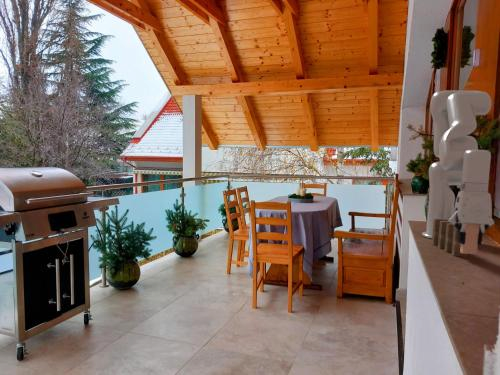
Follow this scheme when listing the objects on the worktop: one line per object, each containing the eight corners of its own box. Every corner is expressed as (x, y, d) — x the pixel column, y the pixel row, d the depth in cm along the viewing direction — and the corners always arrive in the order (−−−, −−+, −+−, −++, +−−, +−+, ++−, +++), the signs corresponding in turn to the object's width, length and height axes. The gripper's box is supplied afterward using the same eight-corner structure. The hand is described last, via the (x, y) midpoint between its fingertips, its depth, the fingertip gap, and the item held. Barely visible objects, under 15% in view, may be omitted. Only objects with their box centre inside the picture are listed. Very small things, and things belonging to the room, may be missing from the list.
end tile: (476, 254, 123) (479, 223, 122) (462, 253, 123) (465, 223, 123) (474, 252, 125) (476, 223, 124) (460, 252, 125) (462, 222, 124)
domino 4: (451, 254, 131) (453, 226, 130) (464, 255, 130) (467, 226, 129) (453, 256, 129) (456, 227, 128) (467, 256, 129) (470, 227, 128)
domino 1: (431, 244, 145) (433, 218, 144) (443, 244, 145) (445, 218, 144) (433, 245, 144) (435, 219, 143) (445, 245, 144) (448, 219, 143)
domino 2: (437, 247, 140) (440, 220, 140) (450, 247, 140) (452, 221, 139) (439, 248, 139) (442, 221, 138) (452, 249, 139) (454, 222, 138)
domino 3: (444, 251, 135) (446, 223, 135) (457, 251, 135) (459, 224, 134) (446, 252, 134) (449, 224, 133) (459, 252, 134) (462, 224, 133)
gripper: (453, 188, 119) (448, 245, 120) (508, 190, 118) (502, 247, 120) (442, 186, 126) (437, 240, 128) (493, 188, 126) (488, 242, 128)
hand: (469, 243), depth 124 cm, fingers closed on end tile, 4 cm apart
